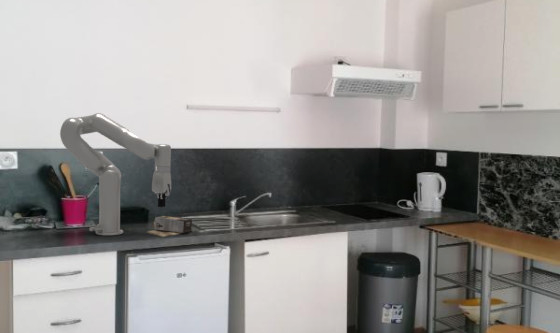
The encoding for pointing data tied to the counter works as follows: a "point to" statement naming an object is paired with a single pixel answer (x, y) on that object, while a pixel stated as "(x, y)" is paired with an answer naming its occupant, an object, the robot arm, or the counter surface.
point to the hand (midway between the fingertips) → (161, 206)
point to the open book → (163, 233)
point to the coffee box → (173, 224)
